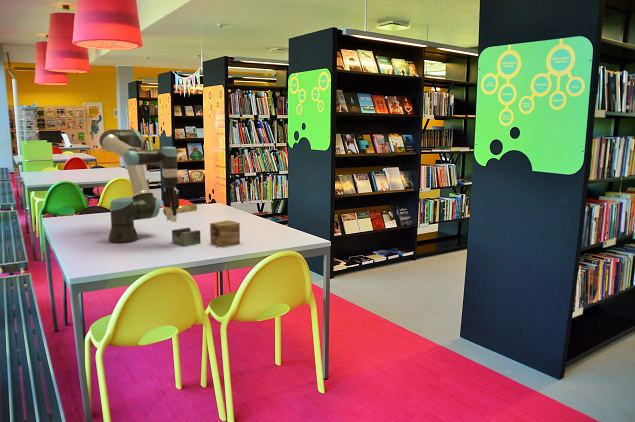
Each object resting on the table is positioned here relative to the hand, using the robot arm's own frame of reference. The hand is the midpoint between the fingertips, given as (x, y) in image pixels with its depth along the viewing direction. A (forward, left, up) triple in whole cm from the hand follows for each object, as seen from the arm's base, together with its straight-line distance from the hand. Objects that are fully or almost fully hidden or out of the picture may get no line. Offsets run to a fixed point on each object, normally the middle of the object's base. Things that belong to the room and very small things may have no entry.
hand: (171, 220), depth 262 cm
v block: (0, +9, -13) cm, 16 cm away
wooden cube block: (+16, +23, -13) cm, 31 cm away
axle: (0, +6, +3) cm, 7 cm away
